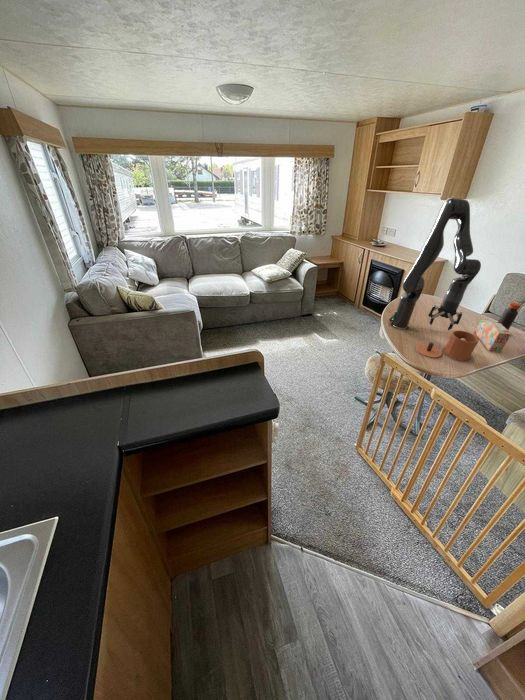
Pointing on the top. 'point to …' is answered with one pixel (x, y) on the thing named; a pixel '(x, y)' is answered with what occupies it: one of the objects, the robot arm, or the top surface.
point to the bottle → (509, 315)
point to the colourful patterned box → (492, 335)
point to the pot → (461, 345)
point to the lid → (428, 350)
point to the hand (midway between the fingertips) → (439, 326)
